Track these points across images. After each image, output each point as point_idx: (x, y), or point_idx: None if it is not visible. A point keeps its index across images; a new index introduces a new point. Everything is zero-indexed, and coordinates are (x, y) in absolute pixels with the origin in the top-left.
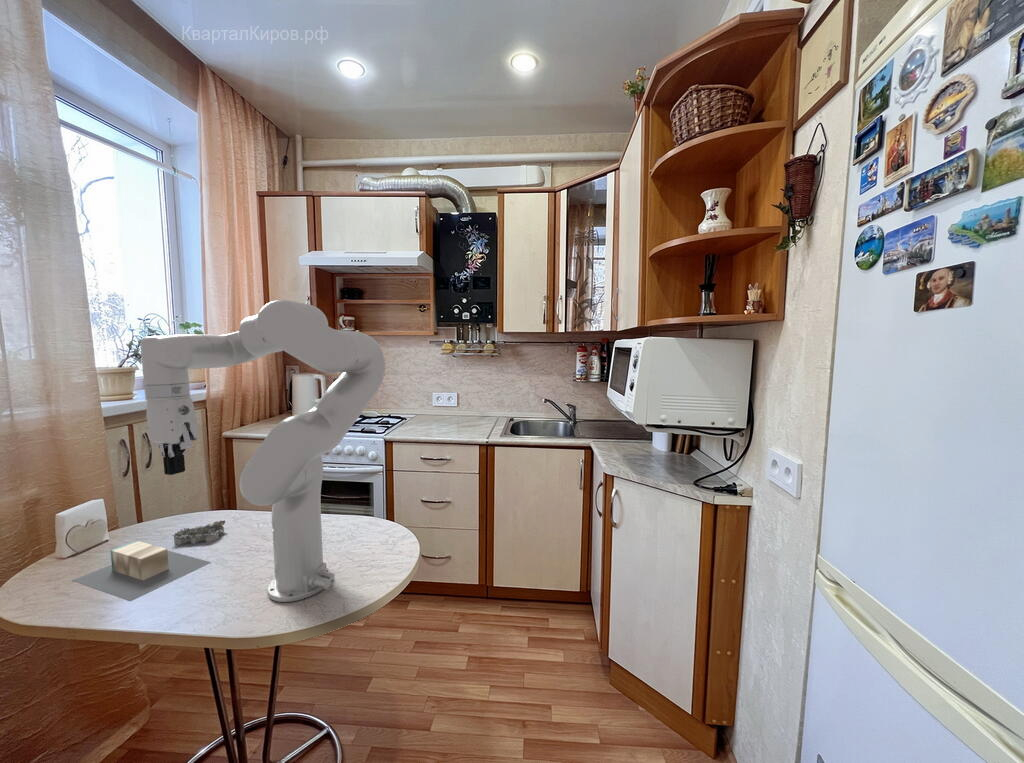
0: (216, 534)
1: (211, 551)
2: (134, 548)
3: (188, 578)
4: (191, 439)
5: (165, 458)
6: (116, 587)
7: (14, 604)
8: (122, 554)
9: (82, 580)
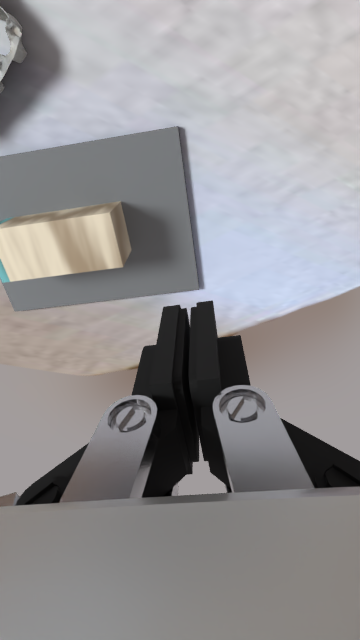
0: (12, 21)
1: (91, 82)
2: (35, 252)
3: (198, 191)
4: (355, 489)
5: (190, 460)
6: (118, 284)
7: (35, 364)
8: (50, 276)
9: (30, 303)
